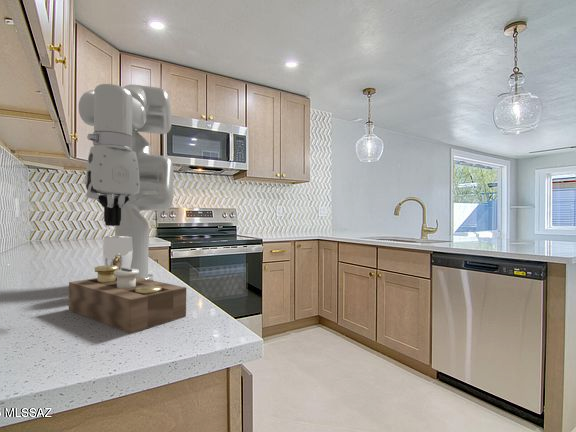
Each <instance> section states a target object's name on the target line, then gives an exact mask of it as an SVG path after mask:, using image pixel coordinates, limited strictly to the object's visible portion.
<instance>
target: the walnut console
mask: <svg viewBox="0 0 576 432" xmlns="http://www.w3.org/2000/svg"><path fill="white" fill-rule="evenodd" d="M142 286H161V287H162V291H161V292H156V293H151V294H147V295H142V294H138V293H135V289H136V288H138V287H142ZM68 310H69V311H71V312H74V313H75V314H79V315H81V316H85V317H87V318H89V319H92V320H95V321H97V322H100V323H103V324H105V325H108V326H110V327H112V328H116V329H118V330H121V331H123V332H126V333H128V334H133V333H137V332H140V331H143V330H146V329H149V328H153V327H156V326H160V325H162V324H165V323H166V324H167V323H169V322H172V321H176V320H178V319H182V318H184V317H187V287H186V286H181V285H176V284H172V283H171V284H170V283H168V282H161V281H156V280H154V279H153V280H148V279H143V278H138V277H136V286H134V287H129V288H124V289H118V288H117V276H116V281H114V282H108V283H102V284H99V283H98V277H95V278H89V279H88V278H87V279H81V280H76V281H69V282H68Z"/></svg>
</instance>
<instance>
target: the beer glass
mask: <svg viewBox="0 0 576 432" xmlns="http://www.w3.org/2000/svg"><path fill="white" fill-rule="evenodd" d="M132 255H133V246H132V236H115V235H108V236H104V237H103V245H102V260H103V266H105V265H117V266H119V270H121V268H127V269H130V268H131V263H132Z"/></svg>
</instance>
